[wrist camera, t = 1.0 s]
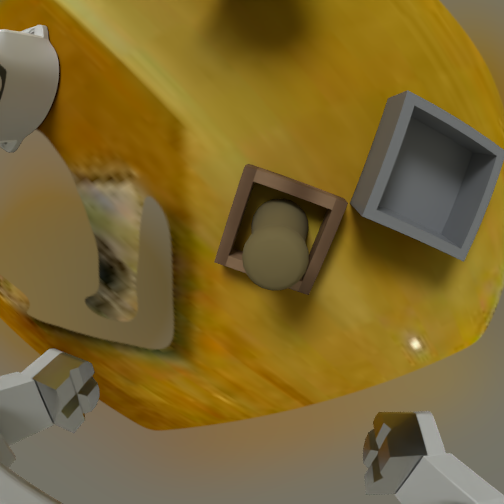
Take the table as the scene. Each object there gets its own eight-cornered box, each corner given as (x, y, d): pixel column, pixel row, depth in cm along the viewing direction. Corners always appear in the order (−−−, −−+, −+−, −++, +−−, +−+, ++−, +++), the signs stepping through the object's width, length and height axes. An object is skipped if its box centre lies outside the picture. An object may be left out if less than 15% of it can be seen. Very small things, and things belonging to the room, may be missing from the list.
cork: (313, 247, 34) (321, 294, 24) (259, 258, 35) (244, 308, 25) (302, 193, 32) (306, 217, 22) (245, 205, 33) (223, 235, 23)
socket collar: (219, 253, 36) (214, 262, 33) (248, 163, 32) (245, 165, 30) (307, 284, 36) (308, 295, 33) (343, 198, 32) (347, 203, 30)
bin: (350, 203, 32) (361, 216, 26) (388, 98, 28) (407, 90, 22) (440, 242, 32) (463, 261, 26) (476, 147, 28) (506, 151, 22)
